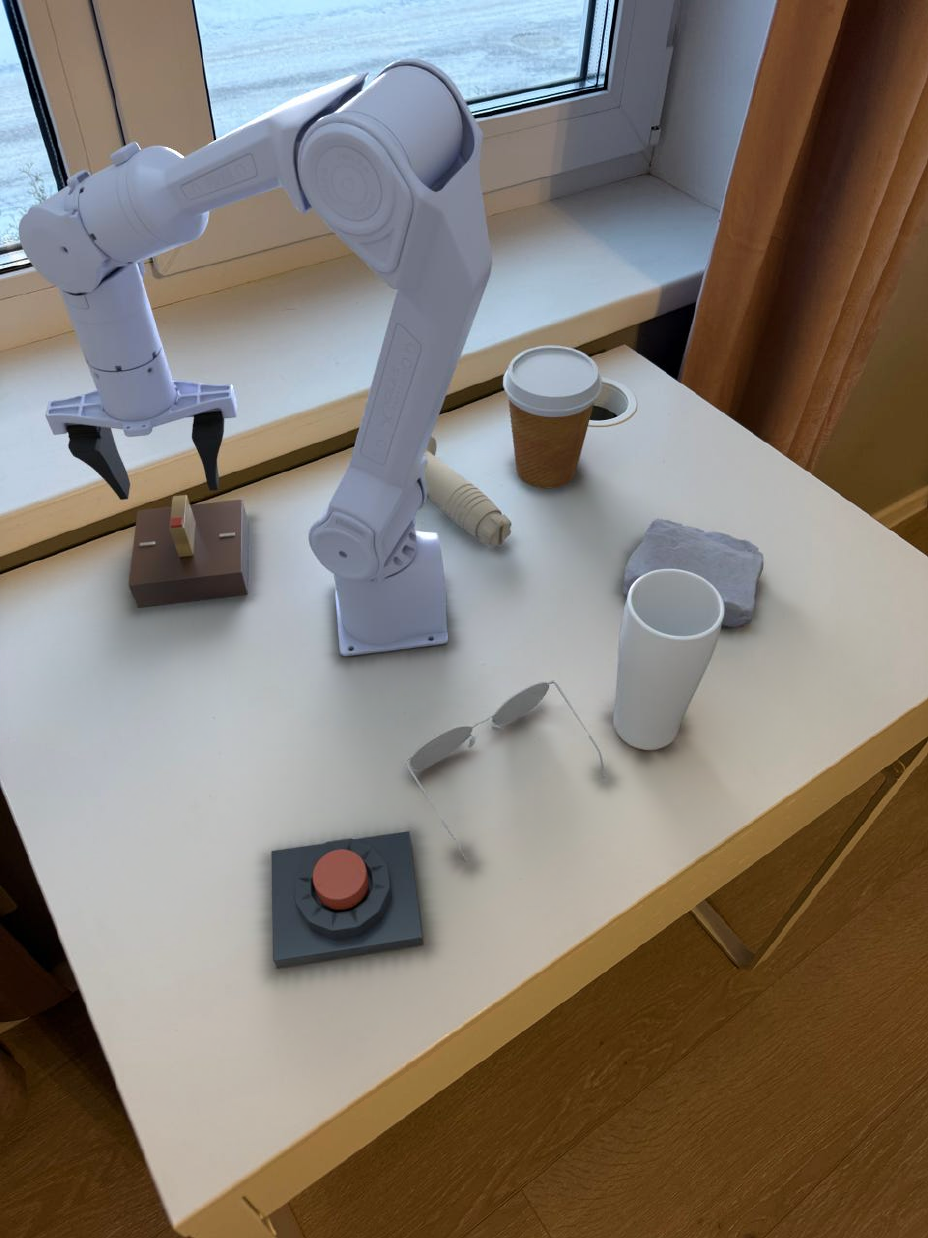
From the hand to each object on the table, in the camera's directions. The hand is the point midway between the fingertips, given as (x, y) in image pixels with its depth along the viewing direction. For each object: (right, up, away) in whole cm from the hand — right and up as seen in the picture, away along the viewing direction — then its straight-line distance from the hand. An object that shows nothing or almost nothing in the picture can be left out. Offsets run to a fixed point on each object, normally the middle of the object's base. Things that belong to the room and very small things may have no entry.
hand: (170, 487), depth 78 cm
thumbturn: (0, -4, +5) cm, 6 cm away
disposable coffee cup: (+34, +4, +16) cm, 38 cm away
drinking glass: (+40, -20, -6) cm, 46 cm away
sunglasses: (+29, -24, -9) cm, 39 cm away
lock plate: (0, -6, +7) cm, 9 cm away
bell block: (+17, -31, -15) cm, 39 cm away
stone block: (+47, -8, +5) cm, 48 cm away
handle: (+29, -4, +7) cm, 30 cm away
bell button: (+17, -30, -17) cm, 39 cm away
